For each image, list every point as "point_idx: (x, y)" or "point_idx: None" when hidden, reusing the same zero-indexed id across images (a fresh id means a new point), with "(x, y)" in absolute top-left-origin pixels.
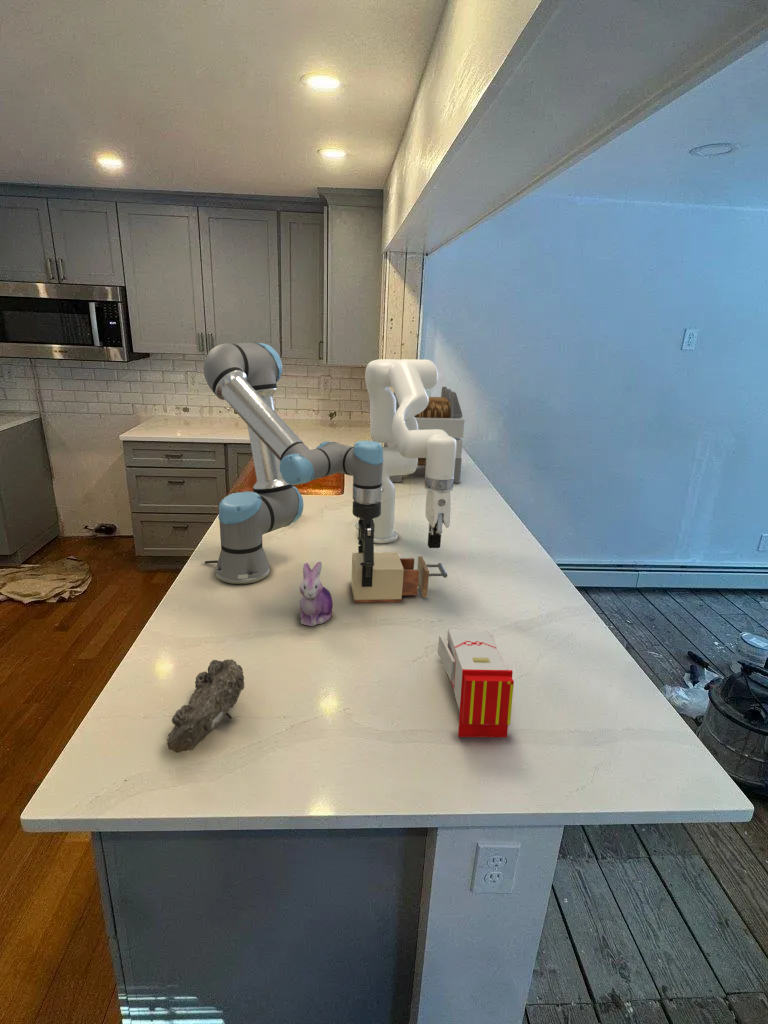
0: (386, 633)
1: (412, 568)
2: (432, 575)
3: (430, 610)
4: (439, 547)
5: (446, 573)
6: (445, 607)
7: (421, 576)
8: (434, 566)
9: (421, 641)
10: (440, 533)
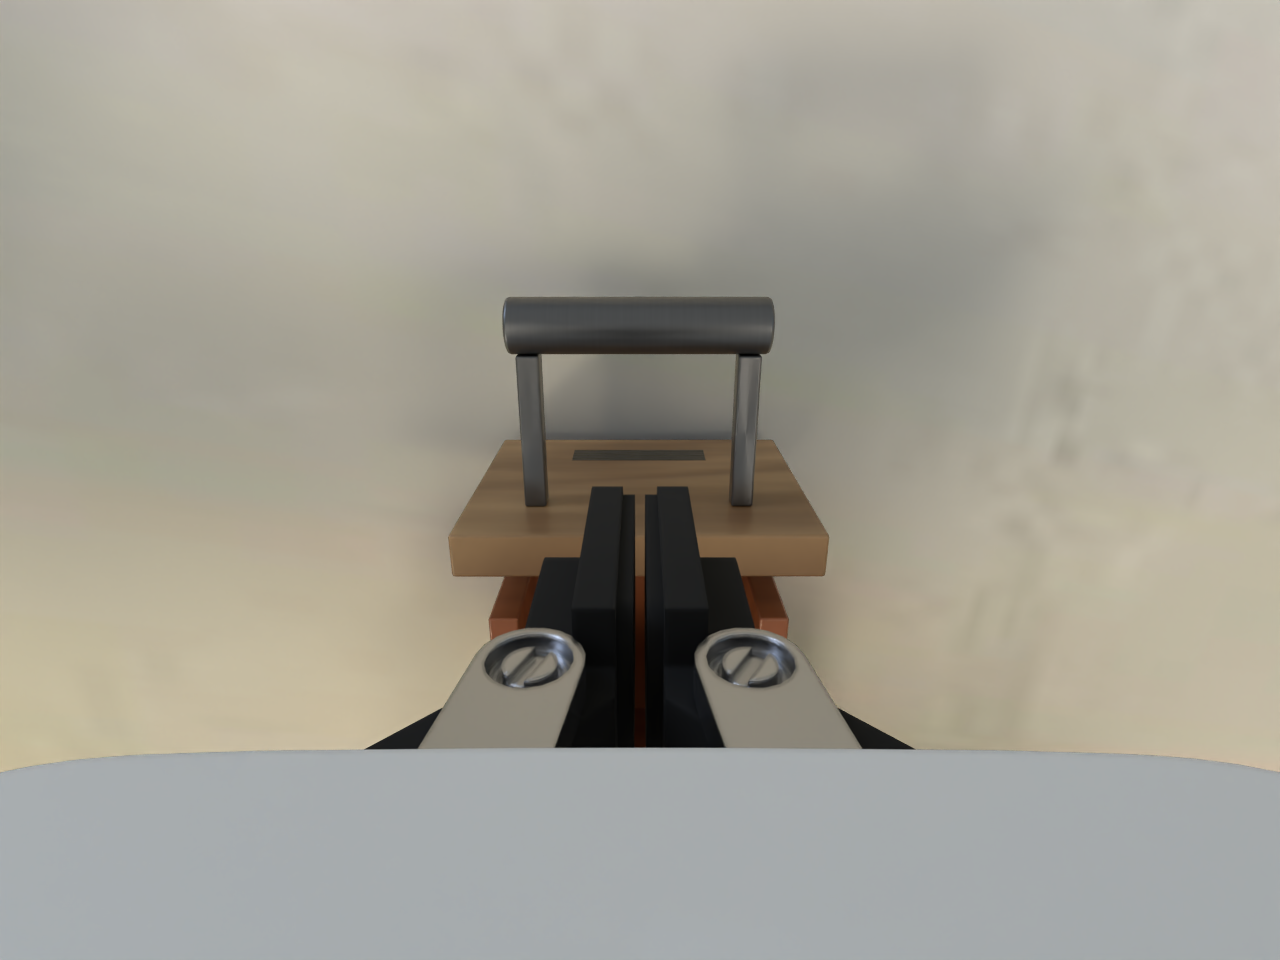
0: (1109, 718)
1: (532, 577)
2: (753, 454)
3: (916, 433)
4: (684, 492)
5: (772, 315)
6: (895, 313)
7: None
8: (540, 389)
9: (1259, 558)
10: (811, 685)
